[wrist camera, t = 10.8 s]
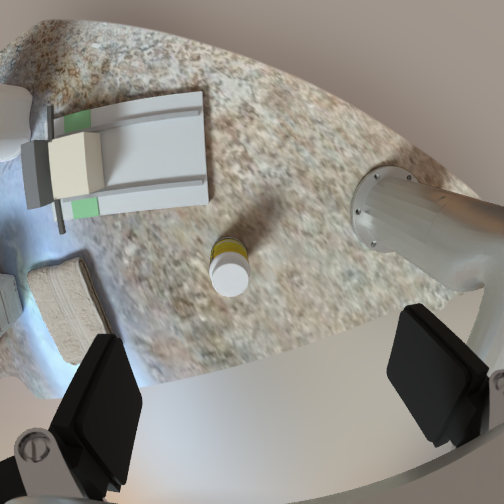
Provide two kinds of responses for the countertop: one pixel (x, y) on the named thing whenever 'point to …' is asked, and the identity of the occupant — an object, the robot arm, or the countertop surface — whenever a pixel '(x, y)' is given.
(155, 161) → the board
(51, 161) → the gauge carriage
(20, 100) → the jar
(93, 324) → the washcloth
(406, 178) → the robot arm
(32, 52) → the countertop surface
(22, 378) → the countertop surface
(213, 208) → the countertop surface
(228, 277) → the supplement bottle
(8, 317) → the supplement box
